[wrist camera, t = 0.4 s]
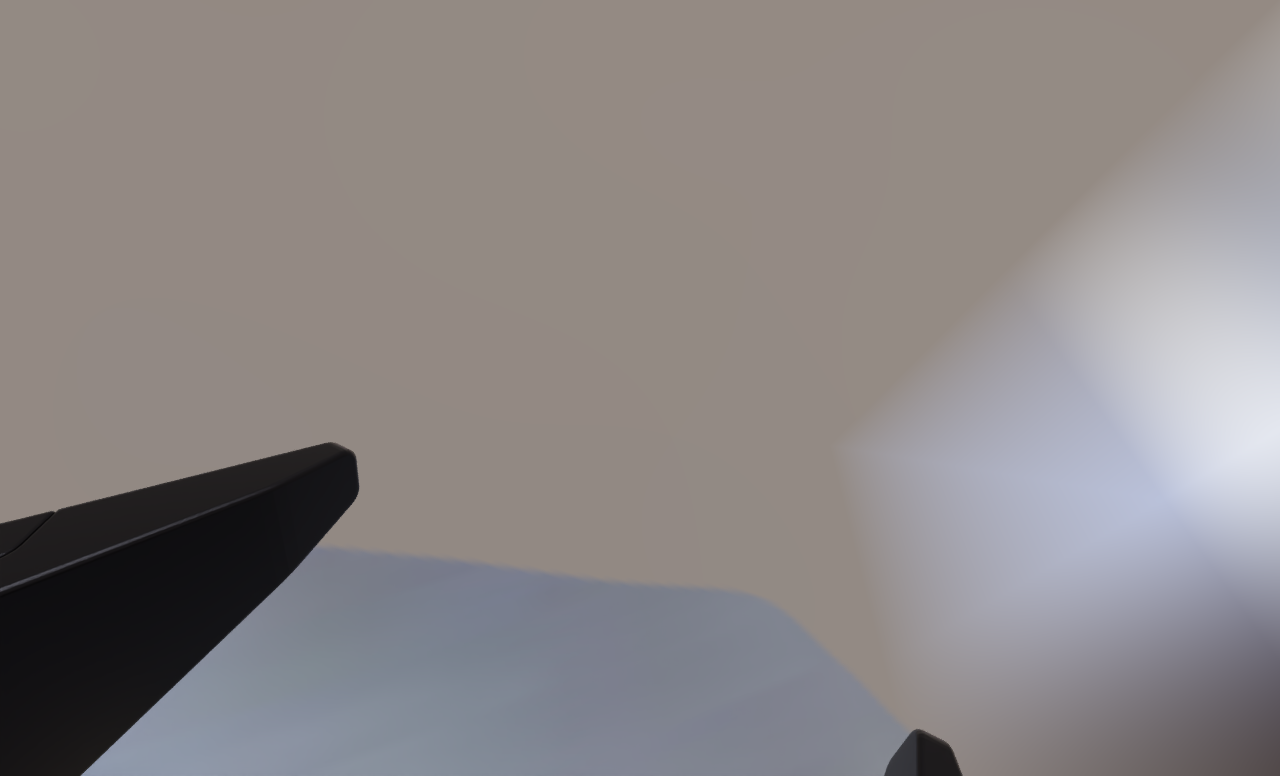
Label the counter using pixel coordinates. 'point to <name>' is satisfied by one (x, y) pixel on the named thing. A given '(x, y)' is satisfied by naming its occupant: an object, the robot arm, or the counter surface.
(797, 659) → the counter surface
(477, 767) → the counter surface
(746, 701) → the counter surface
